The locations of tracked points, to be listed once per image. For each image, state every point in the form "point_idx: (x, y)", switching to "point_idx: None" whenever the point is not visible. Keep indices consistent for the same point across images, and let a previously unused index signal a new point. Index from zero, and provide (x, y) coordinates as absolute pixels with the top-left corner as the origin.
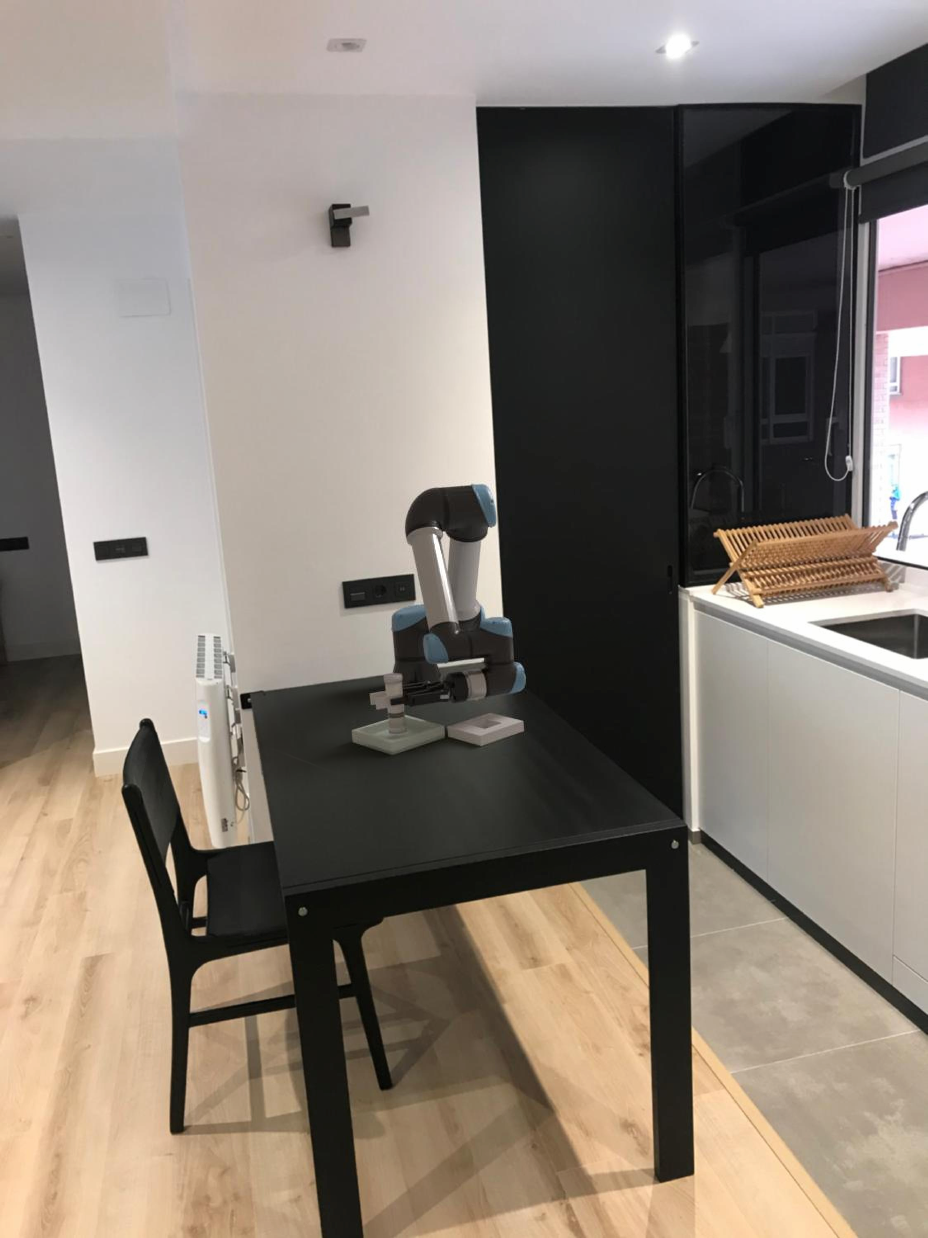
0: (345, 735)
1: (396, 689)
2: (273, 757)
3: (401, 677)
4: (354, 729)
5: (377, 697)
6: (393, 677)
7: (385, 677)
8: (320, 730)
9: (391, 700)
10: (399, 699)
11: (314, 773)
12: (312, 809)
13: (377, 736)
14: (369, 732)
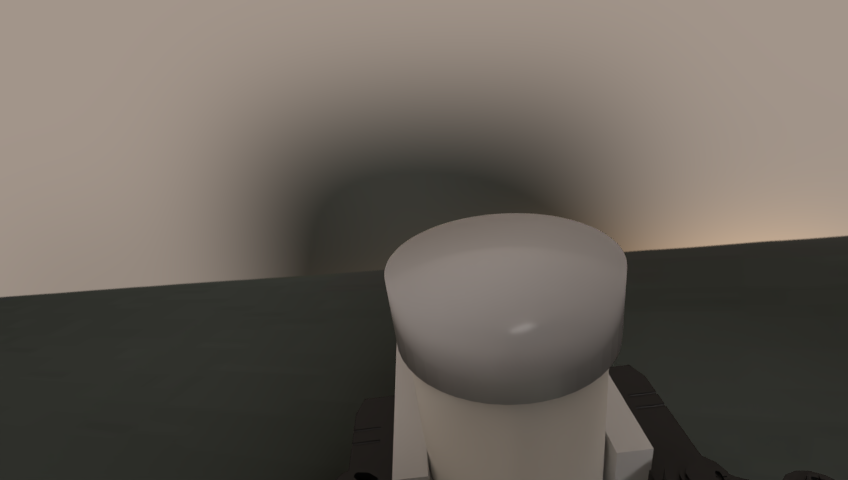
0: (699, 411)
1: (416, 393)
2: None
3: (431, 342)
4: None
5: None
6: (391, 259)
7: (451, 222)
8: (783, 341)
9: (365, 405)
10: (351, 468)
11: (314, 325)
12: (102, 322)
13: None
14: None
